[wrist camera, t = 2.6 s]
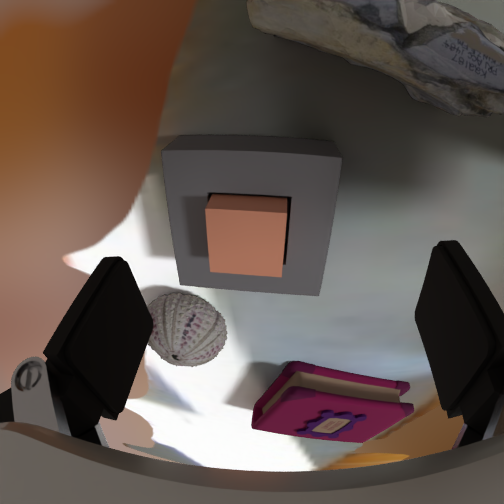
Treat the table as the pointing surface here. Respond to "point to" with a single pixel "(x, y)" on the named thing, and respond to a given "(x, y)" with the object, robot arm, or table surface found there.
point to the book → (329, 404)
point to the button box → (253, 184)
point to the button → (246, 234)
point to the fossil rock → (401, 45)
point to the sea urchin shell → (186, 330)
